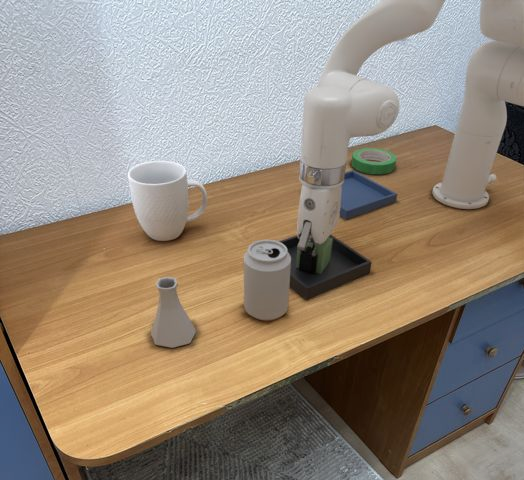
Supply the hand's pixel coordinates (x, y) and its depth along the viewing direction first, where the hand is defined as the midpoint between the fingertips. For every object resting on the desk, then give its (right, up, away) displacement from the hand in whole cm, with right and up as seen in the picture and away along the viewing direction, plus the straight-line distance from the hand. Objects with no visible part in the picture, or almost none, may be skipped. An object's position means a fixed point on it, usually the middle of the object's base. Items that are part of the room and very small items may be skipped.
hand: (313, 263), depth 96 cm
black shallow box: (0, -1, 0) cm, 1 cm away
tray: (+10, +19, +22) cm, 31 cm away
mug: (-29, +8, +9) cm, 31 cm away
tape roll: (+19, +31, +35) cm, 51 cm away
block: (0, 0, 0) cm, 0 cm away
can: (-9, -10, -9) cm, 16 cm away
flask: (-24, -14, -14) cm, 31 cm away
